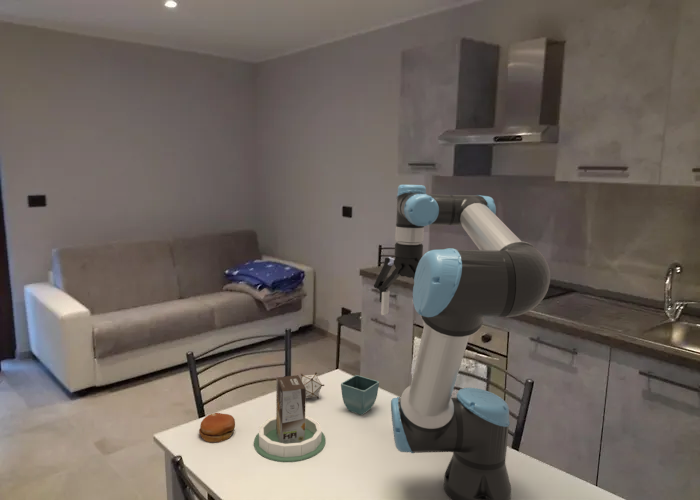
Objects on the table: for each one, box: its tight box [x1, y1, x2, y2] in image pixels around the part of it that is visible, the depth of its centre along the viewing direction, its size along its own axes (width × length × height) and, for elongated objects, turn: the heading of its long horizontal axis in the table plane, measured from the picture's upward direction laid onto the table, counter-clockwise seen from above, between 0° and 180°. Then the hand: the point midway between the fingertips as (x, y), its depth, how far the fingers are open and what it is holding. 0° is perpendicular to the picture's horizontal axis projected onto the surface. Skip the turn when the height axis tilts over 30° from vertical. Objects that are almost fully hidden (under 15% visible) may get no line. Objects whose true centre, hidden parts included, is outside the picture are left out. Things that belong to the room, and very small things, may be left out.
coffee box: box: [275, 374, 307, 444], centre depth 133 cm, size 9×6×16 cm
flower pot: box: [340, 374, 380, 416], centre depth 153 cm, size 9×9×9 cm
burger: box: [198, 412, 236, 443], centre depth 137 cm, size 10×9×5 cm
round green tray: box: [253, 415, 326, 463], centre depth 134 cm, size 19×19×4 cm
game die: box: [300, 371, 325, 400], centre depth 160 cm, size 9×8×10 cm
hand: (405, 319), depth 137 cm, fingers open, 13 cm apart
